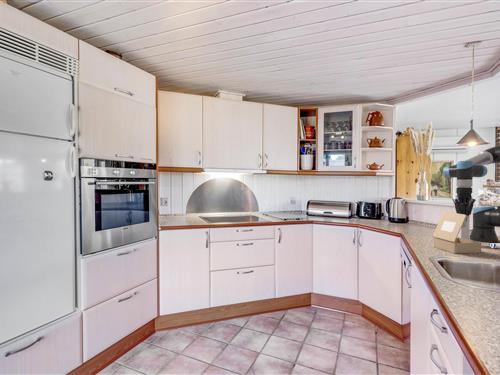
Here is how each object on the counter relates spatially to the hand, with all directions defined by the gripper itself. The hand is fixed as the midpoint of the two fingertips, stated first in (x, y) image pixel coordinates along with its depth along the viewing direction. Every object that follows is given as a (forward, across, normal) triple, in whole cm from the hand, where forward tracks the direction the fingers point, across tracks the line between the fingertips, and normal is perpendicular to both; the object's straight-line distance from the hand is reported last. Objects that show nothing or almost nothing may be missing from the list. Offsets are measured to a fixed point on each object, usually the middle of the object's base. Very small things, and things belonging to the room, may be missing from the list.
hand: (463, 227), depth 168 cm
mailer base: (+14, +4, 0) cm, 14 cm away
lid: (+1, +6, 0) cm, 7 cm away
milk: (+14, -11, -14) cm, 22 cm away
